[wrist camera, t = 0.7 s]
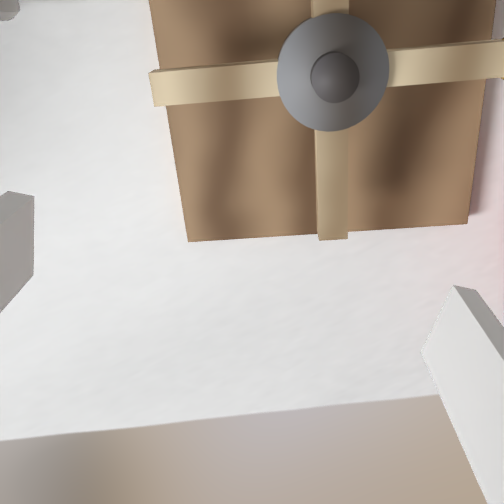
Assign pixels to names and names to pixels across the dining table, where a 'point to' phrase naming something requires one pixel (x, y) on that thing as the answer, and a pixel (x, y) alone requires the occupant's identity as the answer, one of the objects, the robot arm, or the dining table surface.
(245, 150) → the stand
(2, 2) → the cup
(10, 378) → the dining table surface
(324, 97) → the capstan
